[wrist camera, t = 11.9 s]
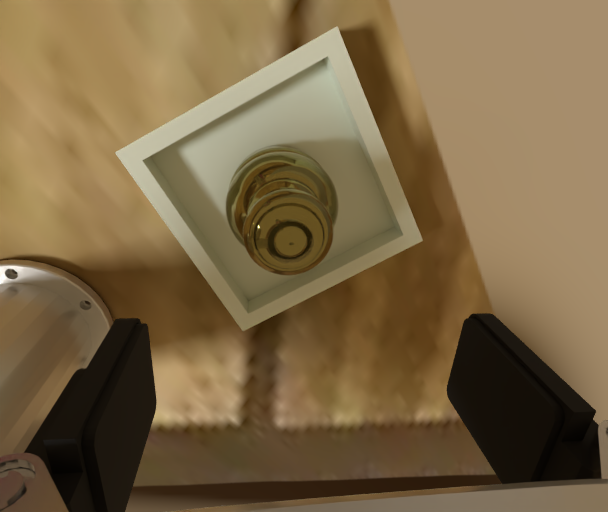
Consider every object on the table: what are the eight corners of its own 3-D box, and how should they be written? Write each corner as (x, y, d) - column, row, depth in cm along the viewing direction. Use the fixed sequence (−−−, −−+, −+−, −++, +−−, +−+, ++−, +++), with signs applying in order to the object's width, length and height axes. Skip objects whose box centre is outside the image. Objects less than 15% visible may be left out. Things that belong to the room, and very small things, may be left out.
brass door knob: (315, 246, 31) (340, 312, 22) (222, 230, 30) (208, 294, 21) (338, 155, 28) (378, 187, 19) (237, 133, 27) (229, 156, 18)
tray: (409, 228, 32) (423, 240, 30) (243, 313, 34) (242, 331, 31) (329, 32, 26) (337, 26, 23) (128, 146, 27) (114, 152, 25)
